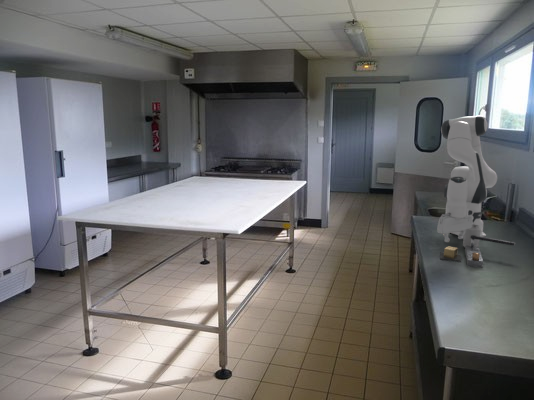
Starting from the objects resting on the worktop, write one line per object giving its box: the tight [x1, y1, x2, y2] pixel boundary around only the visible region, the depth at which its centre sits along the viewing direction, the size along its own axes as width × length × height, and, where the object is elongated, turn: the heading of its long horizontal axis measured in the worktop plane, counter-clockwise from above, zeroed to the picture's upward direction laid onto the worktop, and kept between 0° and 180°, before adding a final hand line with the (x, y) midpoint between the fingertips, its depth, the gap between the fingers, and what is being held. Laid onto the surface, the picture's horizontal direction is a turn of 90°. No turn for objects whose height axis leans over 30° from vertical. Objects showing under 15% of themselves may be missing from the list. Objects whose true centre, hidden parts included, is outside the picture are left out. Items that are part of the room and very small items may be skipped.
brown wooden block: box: [443, 245, 459, 259], centre depth 200 cm, size 6×4×4 cm
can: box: [462, 224, 481, 248], centre depth 215 cm, size 8×8×12 cm
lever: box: [470, 235, 516, 246], centre depth 201 cm, size 19×2×1 cm, turn 49°
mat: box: [439, 252, 462, 263], centre depth 200 cm, size 10×9×1 cm
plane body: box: [464, 239, 484, 269], centre depth 197 cm, size 24×6×7 cm, turn 158°
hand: (453, 240), depth 199 cm, fingers open, 8 cm apart
